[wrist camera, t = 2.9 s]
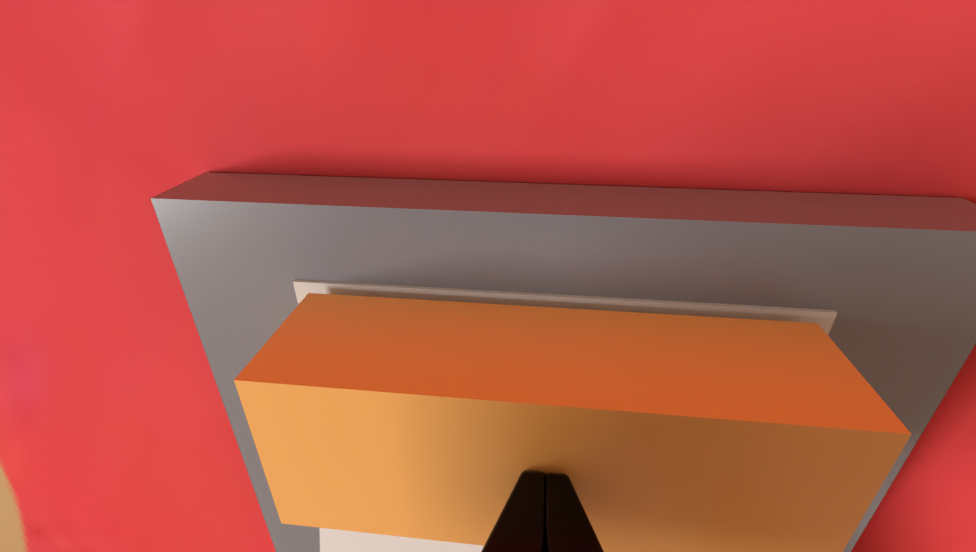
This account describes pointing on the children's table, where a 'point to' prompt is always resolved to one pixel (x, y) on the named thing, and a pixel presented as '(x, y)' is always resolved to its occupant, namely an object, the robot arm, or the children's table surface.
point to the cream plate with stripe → (385, 543)
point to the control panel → (581, 269)
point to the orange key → (566, 423)
